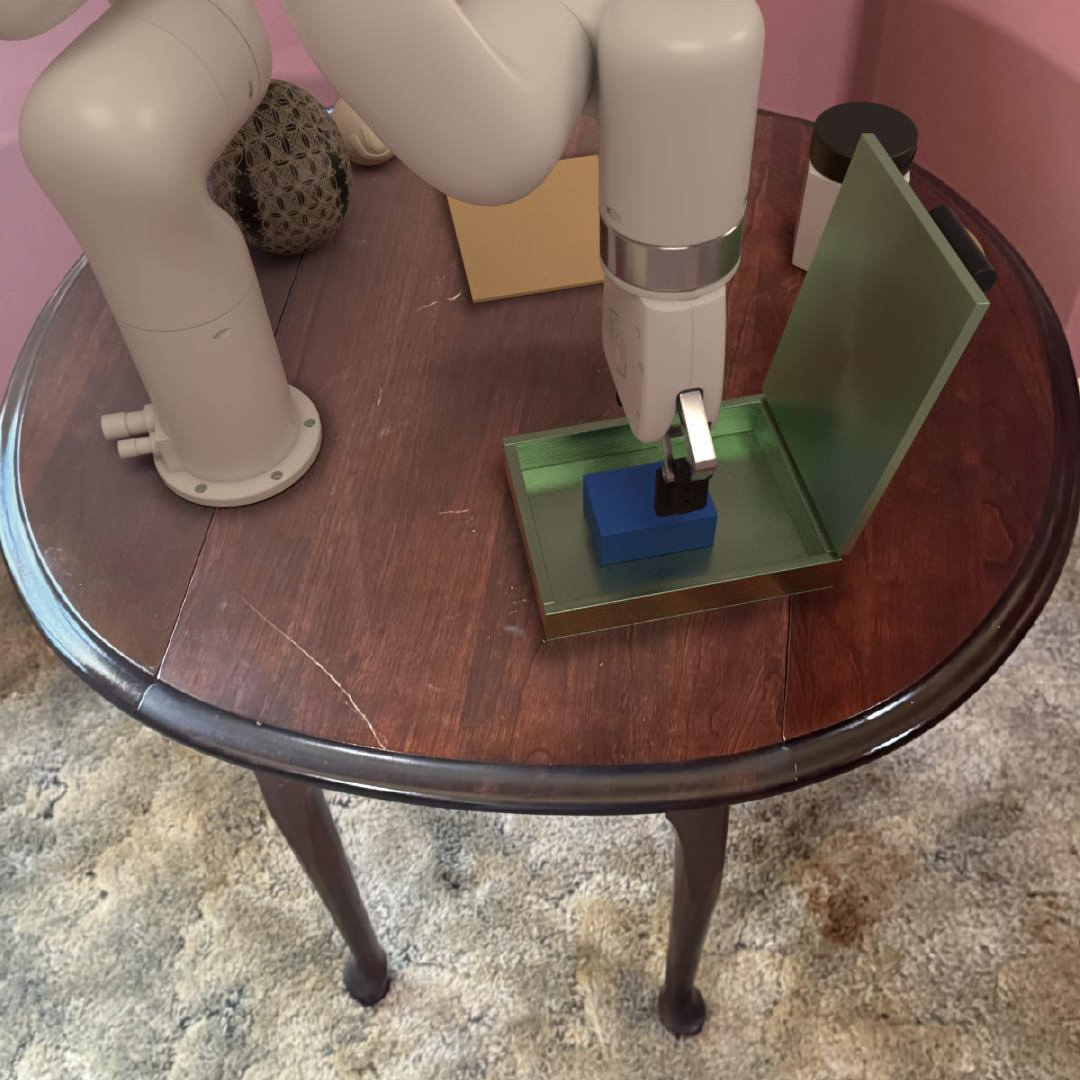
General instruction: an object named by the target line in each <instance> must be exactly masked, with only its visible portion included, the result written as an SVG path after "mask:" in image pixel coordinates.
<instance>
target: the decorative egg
mask: <svg viewBox="0 0 1080 1080" xmlns="http://www.w3.org/2000/svg"><path fill="white" fill-rule="evenodd" d="M351 167H352V166H351V161H350V160H349V156H348V153H347V149H346V146H345V144H344V141H343V138H342V136H341V134H340V132H339V130H338V128H337V126H336V124H335V122H334V121H333V119H332V118H331V114H330V113H329V112H328V111H327V108H325V106H324V105H322V103H321V102H320V101H318V100H317V99H316V98H315V97H314V96H313V95H312V94H311V93H309V92H308V91H307V90H305V89H303V88H302V87H300V86H298V85H297V84H296V83H292V82H289V81H286V80H282V79H279V78H271V80H270V83H269V86H268V89H267V91H266V93H265V95H264V97H263V99H262V101H261V102H260V104H259V105H258V107H257V108H256V109H255V111H254V112H253V113H252V115H251V116H250V117H249V118H248V120H247V121H246V122H245V123H244V125H243V126H242V127H241V128H240V130H239V131H238V132H237V133H236V135H235V136H234V137H233V138H232V140H231V141H230V142H229V143H228V145H227V146H226V148H225V150H224V151H223V153H222V154H221V155H220V157H219V158H218V159H217V160H216V162H215V163H214V164H213V166H212V167H211V169H210V171H209V179H210V183H211V189H212V192H213V195H214V198H215V201H216V204H217V205H218V206H219V207H220V208H222V209H223V210H224V211H226V212H227V213H228V214H229V215H230V216H231V217H232V218H233V219H234V221H235V222H236V223H237V225H238V227H239V228H240V230H241V232H242V234H243V236H244V239H245V241H246V243H249V244H251V245H252V246H254V247H256V248H257V249H260V250H262V251H264V252H267V253H271V254H276V255H283V256H294V255H301V254H305V253H308V252H311V251H313V250H316V249H318V248H319V247H321V246H322V245H324V244H325V243H326V242H328V241H329V240H330V239H331V238H332V237H333V236H334V235H335V234H336V233H337V232H338V230H339V228H340V227H341V226H342V224H343V223H344V220H345V218H346V216H347V213H348V212H349V211H348V210H349V209H350V204H351V200H352V193H353V172H352V168H351Z"/></svg>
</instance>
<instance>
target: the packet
mask: <svg viewBox="0 0 1080 1080" xmlns="http://www.w3.org/2000/svg"><path fill="white" fill-rule="evenodd" d="M682 458H685V457H682ZM677 459H680V458H677ZM673 460H675V459H673ZM660 467H661V461H659V462H654V463H648V464H642V465H636V466H631V467H625V468H619V469H614V470H608V471H602V472H596V473H591V474H585V475H583V507H584V511H585V514H586V518H587V521H588V524H589V528H590V531H591V535H592V538H593V541H594V545H595V548H596V552H597V555H598V558H599V562H600V565H601V566H603V565H609V564H614V563H620V562H625V561H630V560H636V559H641V558H647V557H652V556H658V555H663V554H669V553H674V552H680V551H685V550H691V549H696V548H702V547H707V546H712V545H713V544H714V537H715V531H716V524H717V518H718V514H717V511H716V508H715V506H714V503H713V501H712V498H711V496H710V493H709V490H708V496H707V505H706V507H705V508H703V509H701V510H696V511H693V512H690V513H686V514H680V515H678V514H675V515H670V516H665V517H658V516H657V515H656V513H655V510H654V497H655V477H656V469H658V468H660Z"/></svg>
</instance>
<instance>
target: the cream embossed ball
mask: <svg viewBox="0 0 1080 1080" xmlns="http://www.w3.org/2000/svg"><path fill="white" fill-rule="evenodd" d="M330 116H331V118H332V119H333V121H334V122H335V124H336V126H337V128H338V130H339V132H340V134H341V136H342V138H343V141H344V144H345V146H346V149H347V153H348V156H349V161H350V162H352V163H354V164H356V165H360V166H367V167H368V166H371V167H372V166H378V165H381V164H384V163H385V162H388V161H389V160H391V159H392V158H393V157H394V156H395V155H394V154H393V153H392V152H391V151H390V150H389V148H388V147H387V146H386V145H385V144H384V143H383V142H382V141H381V140H380V139H379V138H378V137H377V136H376V135H375V133H374V132H373V131H372V130H371V129H370V128H369V127H368V126H367V125H366V123H365V122H364V121H363V120H362V119H361V118H360V117H359V116H358V115H357V114H356V112H355V111H354V110H353V109H352V108H351V107H350V106H349V105H348V104H347V103H346V102H345V101H344V100H343V99H342V97H341V96H340V98H339V99H338V100H337V101H336V103H335V104H334V106H333V108H332V111H331V113H330Z"/></svg>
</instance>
